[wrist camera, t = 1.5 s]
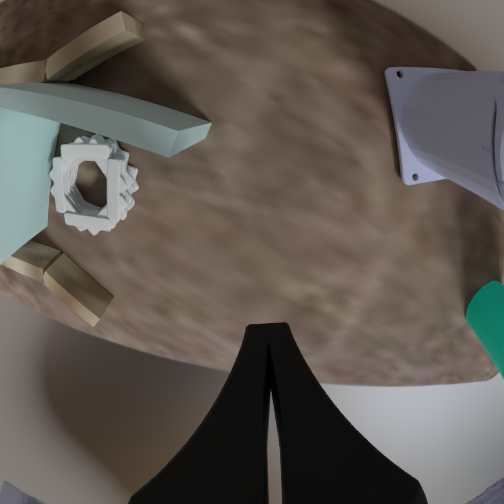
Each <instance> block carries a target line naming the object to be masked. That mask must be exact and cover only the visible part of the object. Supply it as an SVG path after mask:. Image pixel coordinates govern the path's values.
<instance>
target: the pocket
mask: <svg viewBox="0 0 504 504" xmlns="http://www.w3.org/2000/svg"><path fill="white" fill-rule="evenodd" d="M143 41H145V36H144V32H143V28H142V24H141V23H140V22H139V21H137V20H136V19H134V18H132V17H131V16H129V15H127V14H126V13H124V12H122V11H120V12H118V13H116V14H114V15H113V16H111V17H109V18H107V19H105V20H104V21H102V22H100V23H99V24H97V25H95V26H94V27H92V28H90V29H89V30H87V31H86V32H84V33H82V34H81V35H79V36H78V37H76V38H75V39H73V40H72V41H71V42H69V43H68V44H66V45H65V46H63V47H62V48H61V49H59V50H58V51H57V52H55V53H54V54H53V55H51V56H50V57H49V58H48V59H46V60H42V61H35V62H29V63H23V64H18V65H13V66H9V67H4V68H0V85H2V84H13V83H28V82H69V80H74V79H76V78H77V77H79V76H80V75H82V74H84V73H85V72H87V71H88V70H90V69H92V68H93V67H95V66H97V65H98V64H100V63H102V62H104V61H105V60H107V59H109V58H111V57H113V56H115V55H116V54H118V53H120V52H122V51H124V50H126V49H128V48H130V47H132V46H134V45H136V44H138V43H141V42H143ZM2 265H4V266H6V267H8V268H10V269H12V270H15V271H17V272H19V273H21V274H23V275H26V276H28V277H30V278H32V279H35V280H37V281H39V282H42V283H43V284H44V285H45V286H47V287H48V288H49V289H50V290H51V291H52V292H53V293H54V294H55V295H56V296H57V297H59V298H60V299H61V300H62V301H63V302H64V303H65V304H66V305H68V306H69V307H70V308H71V309H72V310H74V311H75V312H76V313H77V314H78V315H80V316H81V317H82V318H83V319H84V320H86V321H87V322H88V323H89V324H91V325H92V326H93V327H94V326H95V325H96V323H97V322H98V321H99V319H100V318H101V316H102V315H103V313H104V312H105V310H106V308H107V307H108V305H109V304H110V302H111V300H112V299H113V297H114V296H113V295H111V294H110V293H109V292H108V291H107V290H105V289H104V288H103V287H102V286H101V285H99V284H98V283H97V282H96V281H95V280H93V279H92V278H91V277H90V276H89V275H88V274H87V273H85V272H84V271H83V270H82V269H81V268H80V267H79V266H78V265H76V264H75V263H74V262H73V261H72V260H71V259H70V258H69V257H68V256H67V255H66V254H65V253H63V254H62V255H61V251H60V250H57V249H54V248H51V247H48V246H45V245H42V244H40V243H37V242H34V241H31V240H29V241H28V242H26V243H25V244H24V245H23V246H22V247H20V248H19V249H18V250H17V251H16V252H14V253H13V254H12V255H11V256H10V257H9V258H7V259H6V260H5V261H4V262H3V263H2Z"/></svg>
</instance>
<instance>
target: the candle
mask: <svg viewBox="0 0 504 504" xmlns="http://www.w3.org/2000/svg"><path fill="white" fill-rule="evenodd" d="M465 318H466V320H467V322H468V324H469V325H470V326H471V328H472V329H473V331H474V332H475V334H476V335H477V337H478V338H479V340H480V341H481V343H482V344H483V346H484V347H485V349H486V350H487V352H488V354H489V355H490V357H491V358H492V360H493V362H494V363H495V365H496V367H497V368H498V370H499V372H500V373H501V375H502V377H503V379H504V286H503V284H502V283H501V282H499V281H495V280H493V281H491V282H489V283H487V284H485V285H484V286H483V287H482V288H481V289H480V290H479V291H478V292H477V293H476V294H475V295H474V297H473V298H472V300H471V302H470V303H469V305H468V307H467V311H466V315H465Z"/></svg>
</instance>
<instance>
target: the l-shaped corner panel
mask: <svg viewBox="0 0 504 504" xmlns="http://www.w3.org/2000/svg"><path fill="white" fill-rule="evenodd" d="M61 123H63V124H66V125H70V126H73V127H77V128H80V129H83V130H87V131H90V132H93V133H96V134H95V135H93V136H92V137H90V138H89V137H86V136H85V135H84V136H82V137H78V138H77V139H76V140H75V141H74V142H73V143H69V144H62V145H61V156H59V157H54V155H55V150H56V144H57V139H58V134H59V129H60V125H61ZM211 124H212V123H211V122H208V121H206V120H203V119H200V118H197V117H194V116H191V115H189V114H186V113H183V112H180V111H177V110H174V109H170V108H167V107H164V106H161V105H158V104H154V103H151V102H148V101H144V100H141V99H137V98H133V97H130V96H126V95H122V94H118V93H114V92H110V91H106V90H101V89H97V88H92V87H88V86H83V85H78V84H73V83H67V82H28V83H13V84H2V85H0V265H1V264H2V263H3V262H4V261H5V260H6V259H7V258H9V257H10V256H11V255H12V254H13V253H14V252H16V251H17V250H18V249H19V248H20V247H22V246H23V245H24V244H25V243H26V242H28V241H29V240H30V239H31V238H33V237H34V236H35V235H37V234H38V233H39V232H40V231H42V230H43V229H44V228H46V227H47V221H48V205H49V193H50V191H51V193H52V195H53V196H54V197H55V201H56V210H57V211H58V212H60V213H64V217H65V222H66V224H67V225H72V226H76V227H77V228H78V230H79V231H82V230H86V229H88V230H89V231H90V232H91V233H92V234H93V235H96V234H97V233H98V232H99V231H100V230H103V231H110V230H111V229H113V228H114V227H115V226H116V223H118V222H119V219H121V220H124V219H125V218H126V216H127V211H128V210H130V209H131V208H132V207H133V205H134V204H135V201H134V199H133V198H132V196H131V193H133V192H135V191H136V190H138V189H139V186H138V184H137V182H136V180H135V179H136V176H137V172H138V169H137V168H136V167H133V166H130V165H128V163H127V162H128V158H129V153H128V152H125V151H123V150H121V149H120V147H119V145H118V143H117V141H116V140H118V141H121V142H124V143H127V144H130V145H133V146H136V147H139V148H142V149H145V150H148V151H151V152H153V153H156V154H159V155H162V156H165V157H167V158H169V157H171V156H173V155H175V154H177V153H178V152H180V151H182V150H184V149H186V148H188V147H189V146H191V145H193V144H195V143H197V142H199V141H201V140H203V139H205V138H206V136H207V133H208V131H209V128H210V126H211ZM99 134H100V135H99ZM101 135H103V136H106V137H109V139H108V140H106V141H105V139H104V138H103V137H102V136H101ZM84 160H87V161H95V162H96V163H97V165H98V166H99V168H100V169H101V170H102V172H103V173H104V175H105V176H106V178H107V204H106V205H105V206H104V207H103V208H99V207H97V206H95V205H92V204H90V203H88V202H85V201H84V199H83V197H82V196H81V194H80V192H79V190H78V188H77V187H76V185H75V180H76V176H77V171H78V166H79V164H80V163H82V162H83V161H84ZM52 168H53V169H52ZM51 179H52V180H53V181H54V185H53V187H52V188H51V190H50V184H51Z"/></svg>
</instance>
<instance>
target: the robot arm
mask: <svg viewBox="0 0 504 504" xmlns="http://www.w3.org/2000/svg"><path fill="white" fill-rule="evenodd" d="M397 71H399V72H400V74H401V77H400V78H399V77H398V76H397ZM384 74H385V79H386V83H387V88H388V92H389V97H390V102H391V107H392V113H393V118H394V124H395V131H396V137H397V145H398V153H399V162H400V172H401V180H402V182H403V183H405V184H407V185H412V184H418V183H424V182H430V181H436V180H442V179H449V180H451V181H453V182H455V183H457V184H459V185H460V186H462V187H464V188H466V189H468V190H470V191H471V192H473V193H475V194H477V195H478V196H480V197H482V198H484V199H485V200H487V201H489V202H490V203H492V204H494V205H495V206H497V207H498V208H500V209H502V210H503V211H504V71H461V70H452V69H440V68H423V67H390V68H387V69H386V70H385V72H384ZM413 174H416V177H415V178H414V179H412V176H413ZM270 392H272V399H273V405H274V412H275V419H276V425H277V432H278V438H279V446H280V461H281V483H282V484H281V485H282V504H428V503H427V499H426V496H425V494H424V491H423V489H422V487H421V485H420V483H419V481H418V480H417V479H415V478H414V477H412V476H411V475H409V474H408V473H406V472H405V471H404V470H402V469H401V468H400V467H398V466H397V465H396V464H394V463H393V462H392V461H390V460H389V459H388V458H387V457H386V456H384V455H383V454H382V453H381V452H380V451H378V450H377V449H376V448H375V447H374V446H373V445H372V444H371V443H370V442H369V441H368V440H367V439H366V438H365V437H363V435H362V434H361V433H359V432H358V431H357V430H356V429H355V428H354V426H353V425H351V423H350V422H349V421H348V420H347V419H346V418H345V416H344V415H343V414H342V413H341V412H340V410H339V409H338V408H337V407H336V406H335V404H334V403H333V402H332V400H331V399H330V398H329V396H328V395H327V394H326V392H325V391H324V389H323V388H322V387H321V385H320V384H319V382H318V381H317V379H316V378H315V376H314V375H313V373H312V371H311V370H310V368H309V366H308V365H307V363H306V361H305V359H304V358H303V356H302V354H301V352H300V350H299V348H298V346H297V344H296V342H295V340H294V338H293V335H292V333H291V330H290V327H289V324H287V323H286V322H282V323H267V324H249V325H248V326H247V327H246V330H245V335H244V339H243V342H242V345H241V348H240V351H239V353H238V356H237V358H236V361H235V363H234V365H233V368H232V370H231V372H230V374H229V377H228V379H227V381H226V383H225V385H224V386H223V388H222V390H221V392H220V394H219V396H218V398H217V399H216V401H215V403H214V404H213V406H212V408H211V409H210V411H209V412H208V414H207V415H206V417H205V418H204V420H203V421H202V423H201V424H200V426H199V427H198V428H197V430H196V431H195V432H194V434H193V435H192V436H191V438H190V439H189V440H188V441H187V443H186V444H185V445H184V446H183V448H182V449H181V450H180V451H179V452H178V453H177V454H176V455H175V456H174V457H173V458H172V460H171V461H170V462H169V463H168V464H167V465H166V466H165V467H164V468H163V469H162V470H161V471H160V472H159V473H158V474H157V475H156V476H155V477H154V478H152V479H151V480H150V481H149V482H148V483H147V484H145V485H144V486H143V487H142V488H141V489H139V490H138V491H137V492H136V493H135V494H134V495H133V496H132V497H131V498H130V500H129V503H128V504H269V490H268V460H267V441H268V426H269V409H270ZM0 504H46V503H45V502H43V501H41V500H39V499H37V498H35V497H32V496H30V495H28V494H27V493H25V492H23V491H21V490H20V489H18V488H17V487H15V486H13V485H12V484H10V483H9V482H7V481H4V482H3V486H2V489H1V492H0ZM466 504H504V477H503V478H501V479H500V480H499V481H498V482H496V483H495V484H493V485H492V486H490V487H489V488H487V489H486V490H485V492H483V493H482V494H480V495H479V496H477V497H476V498H474V499H472V500H471V501H469V502H467V503H466Z"/></svg>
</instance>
